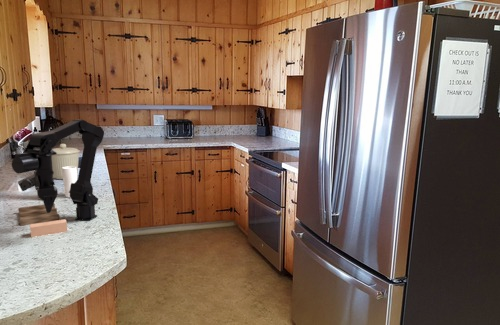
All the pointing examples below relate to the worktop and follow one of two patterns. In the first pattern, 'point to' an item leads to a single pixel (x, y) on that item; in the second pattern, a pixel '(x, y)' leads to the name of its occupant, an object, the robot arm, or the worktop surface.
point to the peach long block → (48, 228)
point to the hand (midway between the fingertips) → (47, 209)
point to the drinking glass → (69, 178)
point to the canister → (64, 159)
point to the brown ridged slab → (37, 215)
